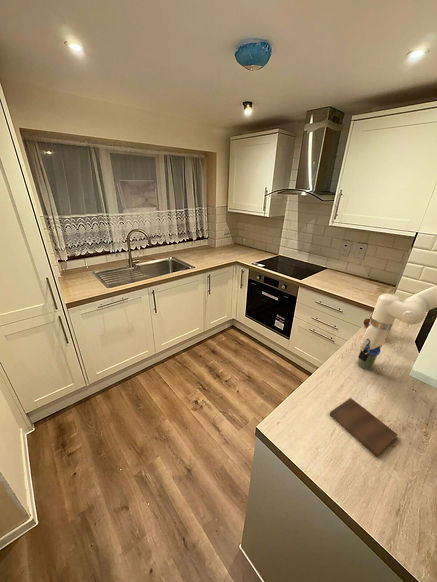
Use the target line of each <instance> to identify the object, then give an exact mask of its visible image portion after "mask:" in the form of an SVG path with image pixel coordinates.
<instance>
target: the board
mask: <svg viewBox="0 0 437 582" xmlns="http://www.w3.org/2000/svg"><path fill="white" fill-rule="evenodd" d="M329 416H330V417H331V418H333V419H334V420H335V421H336V422H337V423H338V424H339V425H340V427H342V428H343V429H344V430H346V431H347V432H348V433H349V434H350V435H351V436H352V437H353V438H355V439H356V440H357V441H358V442H359V443H360V444H361V445H362V446H364V448H365V449H367V450H368V451H369V452H370V453H371V454H372V455H373V456H374V457H375V458H376V457H378V456H379V455H380V454H381V453H382V452H383V451H384V450H385V449H386V448H387V447H388V446H389V445H390V444H391V443H392V442H393V441H394V440H395V439H396V438H397V437H398V433H397V432H395V430H393V429H391V428H390V427H389V426H388V425H386V424H385V423H384V422H383V421H381V420H380V419H379V418H377V417H376V416H375V415H374V414H372V413H371V412H370V411H368V410H367V409H366V408H364V407H363V406H362V405H361V404H359V403H358V402H357V401H356V400H354V399H353V398H352V397H350V398H348V399H347V400H346V401H344V402H342V403H341V404H340V405H338V406H337V407H335V408H334V409H332V410H331V411H330V412H329Z"/></svg>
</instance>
